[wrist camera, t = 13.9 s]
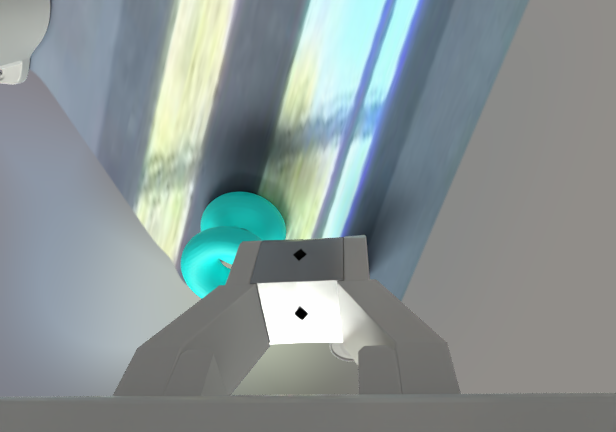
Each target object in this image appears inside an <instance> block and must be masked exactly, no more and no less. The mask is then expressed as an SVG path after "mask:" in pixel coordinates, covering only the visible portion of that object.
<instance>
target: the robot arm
mask: <svg viewBox="0 0 616 432" xmlns="http://www.w3.org/2000/svg"><path fill="white" fill-rule="evenodd" d="M49 18H50V0H0V70H2V73H1V72H0V83H2V84H11V85H12V84H18V83H22V82H24V81H25V80H26V78H27V76H28V71H29V64H30V57H31V55H32V53H33V51H34V50H35V49H36V47H37V46H38V45H39V43H40V42H41V41H42V39H43V37H44V35H45V33H46V30H47V27H48V24H49ZM298 342H299V343H300V342H343V345H344V346H345V348H346V349H347V351H348V352H349V354H350V355H351V357H352V358H353V360H354V361H355V362H356V364H357V365H358V370H359V394H358V395H356V394H355V395H231V394H232V393H233V391H234V390H235V389H236V388H237V386H238V385H239V384H240V383H241V381H242V380H243V379H244V378H245V376H246V375H247V374H248V373H249V372H250V370H251V369H252V368H253V366H254V365H255V364H256V363H257V362H258V360H259V359H260V358H261V357H262V355H263V354H264V353H265V352H266V350H267V349H268V348H269V347H270V344H279V343H298ZM0 432H616V393H525V394H524V393H523V394H521V393H520V394H519V393H516V394H461V393H460V389H459V385H458V382H457V378H456V374H455V371H454V367H453V363H452V359H451V356H450V352H449V348H448V344H447V342H446V341H445V340H443V339H442V338H441V337H440V336H439V335H438V334H436V332H434V331H433V330H432V329H431V328H430V327H429V326H428V325H427V324H425V323H424V322H423V321H422V320H421V319H420V318H419V317H418V316H416V315H415V314H414V313H413V312H412V311H411V310H410V309H408V307H406V306H405V305H404V304H403V303H402V302H401V301H400V300H399V299H397V298H396V297H395V296H394V295H393V294H392V293H391V292H390V291H388V290H387V289H386V288H385V287H384V286H383V285H382V284H381V283H380V282H378V281H377V280H370V276H369V264H368V252H367V241H366V236H365V235H358V236H346V237H339V238H323V239H307V240H303V239H295V240H263V241H243V242H242V243H240V245H239V247H238V250H237V253H236V256H235V259H234V262H233V264H232V267H231V270H230V273H229V276H228V279H227V282H226V284H225V285H220V286H218V287H217V288H215V289H214V290H213V291H212V292H210V293H209V294H208V295H206V296H205V297H204V298H202V299H201V300H200V301H199V302H197V303H196V304H195V305H193V306H192V307H191V308H189V309H188V310H187V311H186V312H184V313H183V314H182V315H180V316H179V317H178V318H177V319H175V320H174V321H172V322H171V323H170V324H169V325H167V326H166V327H165V328H163V329H162V330H161V331H159V332H158V333H157V334H156V335H154V336H153V337H152V338H150V339H149V340H148V341H146V342H145V343H144V344H142V345H141V346H140V347H139V348H137V350H136V352H135V354H134V356H133V358H132V360H131V362H130V364H129V366H128V367H127V369H126V371H125V373H124V375H123V377H122V379H121V381H120V383H119V385H118V387H117V388H116V391H115V392H114V394H113V396H79V397H78V396H74V397H71V396H69V397H0Z"/></svg>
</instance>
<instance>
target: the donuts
mask: <svg viewBox="0 0 616 432" xmlns="http://www.w3.org/2000/svg"><path fill="white" fill-rule="evenodd" d="M241 228H243V229H241ZM244 229H246V230H244ZM247 230H248V231H247ZM285 238H286V227H285V222H284V219H283V217H282V215H281V213H280V212H279V211H278V209H277V208H276V207H275V206H274V205H273V204H272V203H271V202H269V201H268V200H267V199H265V198H263V197H261V196H259V195H256V194H253V193H249V192H230V193H226V194H223V195H221V196H219V197H217V198H216V199H214V200H213V201H212V202H211V203H210V204H209V205H208V206H207V207H206V209H205V211H204V213H203V215H202V219H201V232H200V233H198V234H197V235H195V236H194V237H193V238H192V239H191V240H190V241H189V242H188V243H187V245H186V246H185V248H184V250H183V253H182V257H181V270H182V274H183V277H184V280H185V282H186V283H187V285H188V286H189V288H190V289H191V290H192V291H193V292H194V293H195V294H196V295H198V296H199V297H200V298H204V297H205V296H206V295H208V294H209V293H210V292H212V291H213V290H214V289H215V288H217V287H218V286H220V285H225V284H226V282H227V279H228V276H229V273H230V270H231V269H229V268H227V267H225V266H224V265H223V264H222V263H221V262H220V259H221V260H223V261H225V262H227V263H229V264H233V262H234V259H235V256H236V253H237V250H238V247H239V245H240V243H242V242H243V241H263V240H285Z"/></svg>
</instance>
